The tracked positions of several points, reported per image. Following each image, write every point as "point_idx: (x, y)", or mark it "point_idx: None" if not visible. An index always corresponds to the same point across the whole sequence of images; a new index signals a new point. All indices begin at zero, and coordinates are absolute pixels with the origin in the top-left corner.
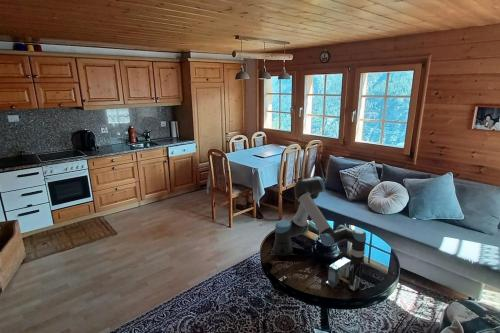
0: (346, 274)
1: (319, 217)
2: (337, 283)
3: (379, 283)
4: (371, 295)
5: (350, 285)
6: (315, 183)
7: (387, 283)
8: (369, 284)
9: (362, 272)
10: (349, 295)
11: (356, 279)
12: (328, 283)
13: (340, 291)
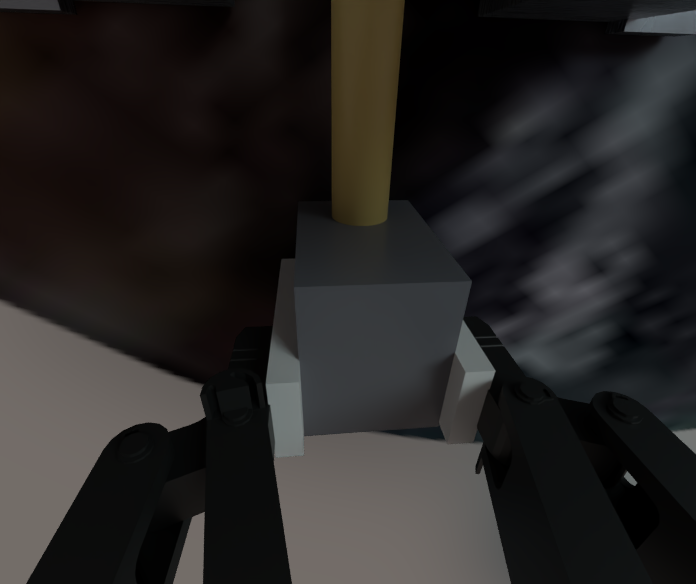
0: (568, 2)
1: None
2: (170, 2)
3: (639, 382)
4: (387, 431)
5: (279, 290)
6: None
7: (674, 415)
8: (562, 339)
9: (643, 525)
10: (164, 321)
11: (404, 400)
12: None
13: (89, 191)
